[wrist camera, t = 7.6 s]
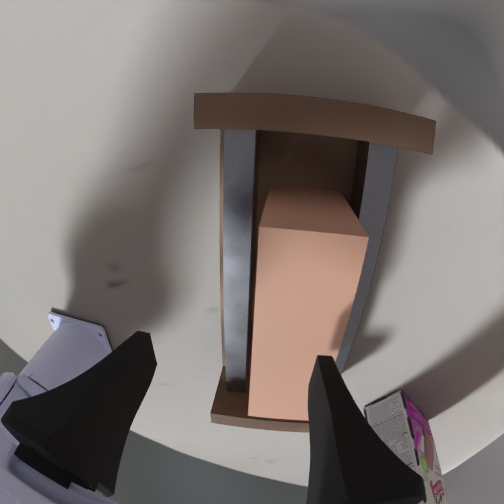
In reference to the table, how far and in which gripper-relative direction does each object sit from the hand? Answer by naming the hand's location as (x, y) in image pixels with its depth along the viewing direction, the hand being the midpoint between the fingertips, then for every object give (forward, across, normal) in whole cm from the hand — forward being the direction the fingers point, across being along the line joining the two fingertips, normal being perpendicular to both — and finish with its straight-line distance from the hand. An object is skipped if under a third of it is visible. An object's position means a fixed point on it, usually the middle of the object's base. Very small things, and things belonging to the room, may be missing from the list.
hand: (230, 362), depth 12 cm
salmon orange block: (+8, -3, 0) cm, 9 cm away
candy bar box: (+10, -18, +18) cm, 27 cm away
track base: (+9, -3, 0) cm, 10 cm away
